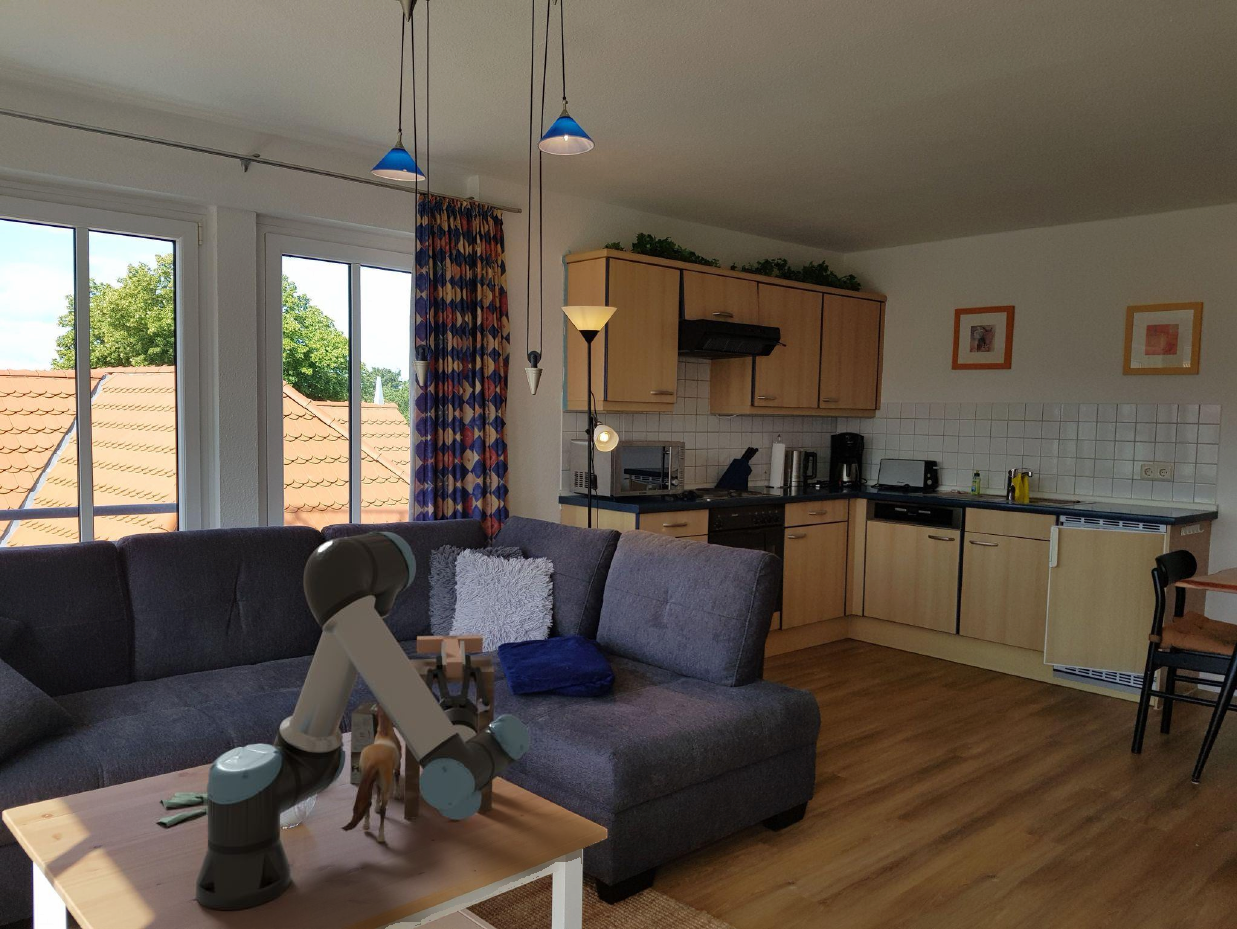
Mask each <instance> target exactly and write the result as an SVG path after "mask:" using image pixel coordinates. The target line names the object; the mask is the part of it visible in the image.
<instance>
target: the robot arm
mask: <svg viewBox="0 0 1237 929" xmlns="http://www.w3.org/2000/svg"><path fill="white" fill-rule="evenodd" d="M416 568H417V563H416V558H415V555H414V553H413V550H412V548H411V546H410V545H409V543H408V542H407V541H406V540H405V539H404V538H402V537H401V536H399V535H398V534H397V533H394V532H390V531H371V532H368V533H365V534H360V535H359V534H358V535H353V536H345V537H337V538H332V539H330V540H328V541H325V542H323V543H322V544H320V545H319V546H318V547H317V548H316V549H315V550H313V552H312V553H311V554H310V556H309V557H308V559H307V562H306V564H305V567H304V572H303V591H304V595H305V597H306V602H307V604H308V606H309V608H310V611H311V613H312V615H313V617H314V618H315V620H316V622H317V624H318V625H319V627H320V628H321V629H322V633H321V636H320V638H319V641H318V644H317V646H316V650H315V652H314V656H313V658H312V661H311V664H310V667H309V669H308V671H307V675H306V677H305V681H304V683H303V686H302V688H301V692H300V695H299V697H298V699H297V703H296V706H295V708H294V711H293V714H292V715H290V716H288V717H287V718H285V719H284V720H282V722H281V723H280V725H279V727H278V728H279V729H278V731H277V734H276V737H275V740H274V741H273V744H267V743H250V744H247V745H245V746H243V747H242V746H238V747H235V748H233V749H230V750H227V751H226V752H224V753H222V754H221V755H220V756H218V757H217V758H216V759H215V760H214V761H213V762H212V764H211V765H210V767H209V771H208V780H207V781H208V782H207V785H206V794H207V800H208V806H207V807H208V823H207V850H206V853H205V856H204V859H203V862H202V864H201V867H200V870H199V873H198V876H197V879H196V884H195V898H196V900H197V902H198V903H199V904H200V905H202V906H204V907H206V908H209V909H214V910H219V911H235V910H237V911H238V910H243V909H247V908H253V907H256V906H260V905H263V904H265V903H268V902H270V901H272V900H274V899H275V898H277V897H279V896H281V895H282V894H283V892H285V890H287V889H288V887H289V885H290V883H291V866H290V862H289V860H288V857H287V854H286V852H285V848H284V845H283V843H282V839H281V814H282V813H284V812H286V811H287V810H289V809H292V808H293V807H295V806H297V805H298V804H301V803H303V802H304V801H307V800H308V799H310V798H312V797H314V796H315V795H316V796H317V795H318V794H320V793H323V791H325V790H327V788H329V787H330V786H331V785H332V784H333V783H335V781H337V779H338V778H339V777H340V776H341V774H342V772H343V770H344V767H345V763H346V751H345V750H344V748H343V747H344V746H345V745H344V742H343V733H342V731H341V729H340V728H339V727H340V725H341V721H342V719H343V716H344V713H345V710H346V708H347V705H348V703H349V700H350V696H351V694H352V691H353V689H354V686H355V684H356V682H357V681H356V680H357V678H358V675H360V677H361V678H362V679H363V681H364V682H365V684H366V685H367V687H368V689H369V690H370V692H371V693H372V695H373V696H374V697H375V699H376V700H377V701H376V702H379V704H380V705H381V707H382V708H383V710H384V711H385V713H386V714H387V716H388V717H389V719H390V720H391V722H392V724H393V727H394V729H396V731H397V732H398V734H399V735H400V737H401V739H402V740H403V742H404V743H406V744H407V746H408V747H409V749H410V750H411V752H412V753H413V755H414V757H415V758H416V760H417V761H418V763H419V764H420V768H421V770H422V771H421V772H420V779H419V785H420V795H421V796H422V798H423V799H424V801H425V802H426V803H427V804H428V805H430V806H431V807H432V808H436V809H437V810H438V812H439V813H440V814H441V815H442V816H443V817H445V818H448V819H451V820H464V819H467V818H470V817H472V816H474V815H475V814H476V813H477V811H478V810H479V807H480V805H481V797H482V794H481V791H482V789H484V788H485V787H486V786H487V785H488V784H489V783H490V782H491V781H492V782H493V780H495V779H496V778H497V777H498V776H499V775H500V774H502V773H503V772H505V771H506V770H507V769H508V768H509V767H511V766H512V765H513V764H514V763H515V762H517V761H519V760H520V759H521V757H522V756H523V755H525V753H526V752H527V751H528V750H529V749H530V745H531V736H530V734H529V730H528V728H527V727H526V726H525V725H524V723H523V722H522V721H521V720H520V719H519V718H517V717H516V716H515V715H512V714H508V713H507V714H505V713H504V714H501V715H499V716H498V717H497V718H495V720H494V721H492V722H491V723H490V725H489V726H487V727H486V728H485V729H484V730H483V731H481V732H480V733H478V734H477V728H476V717H477V716H478V713H480V712H482V711H484V712H485V713H488V712H489V709H490V700H489V699H488V697H487V696H486V694H485V689H484V684H483V678H482V673H481V668H480V667H475V668H473V667H472V666H471V658H472V657H471V655H470V654H466V652H465V648H464V641H460V655H461V659H462V674H464V677H463V682H462V686H461V691H460V694H458V695H457V694H456V695H453V694H450V693H451V692H450V690H449V688H448V683H446V679H445V675H444V674H446V641H442V653H441V655H436V658H435V659H436V668H435V669H431V668H429V669H428V670H427V677H426V684H425V683H424V681H423V680H422V678H421V677H420V675H419V674H418V672H417V671H416V669H415V668H414V666H413V665H412V663H411V662H410V660H411V659H409V657H408V655H407V654H406V653H405V651H404V650H403V648H402V647H401V646H400V644H399V642H398V641H397V640H396V638H395V636H394V635H393V634H392V632H391V630H390V629H389V627H388V626H387V624H386V623H385V621H384V620H383V619H384V618H387V617H388V616H389V615H390V613H391V611H392V610H391V609H392V608H393V605H394V602H395V599H396V597H397V594H400V593H403V592H404V591H405V590H406V589H407V588H408V587H410V585H412V583H413V581H414V579H415V576H416V572H417V569H416ZM471 677H474V681H475V682H474V686H475V687H476V692H477V698H478V702H477V706H476V705H475V702H473V701H472V700H471V699H469V698H468V697H469V696H468V695H469V690H470V683H471V682H470V678H471ZM435 678H437V683H436V684H437V686H438V691H439V696H440V699H441V700H439V702H438V700H437V699H436V698H435V696H434V695H433V679H435Z"/></svg>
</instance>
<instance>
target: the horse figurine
mask: <svg viewBox="0 0 1237 929" xmlns="http://www.w3.org/2000/svg"><path fill="white" fill-rule="evenodd" d="M376 702H377V703H376V707H377V709H378V711H377V713H376V714H375V716H376V718H377V721H378V729H377V731H378V733H377V735H376V737H375V740H374V744H372V745H369V746H367V747H366V748H364V749H363V751H362V753H361V757H360V771H361V775H362V780H361V782H360V783H359V786H358V788H357V793H356V795H355V801H354V805H353V808H352V816H351V820H350V821H349V822H348V823H347V824H346V825H344V826H343V827H340V830H343V831H345V832H348V831H352V830H354V829H355V828H356V827H357V826H359V823H360V822H361V821H362V820H363V819H364V822H363V824H362V830H364V831H369V830H370V829H371V826H370V824H371V823H370V821H369V820H370V817H371V814H370V812H371V807H372V806H373V801H372V800H373V792H374V785H375V788H376V798H375V802H374V803H375V806H374V809H373V811H374V812H375V813H379V817H380V819H379V820H380V821H379V822H380V823H379V826H378V827H379V828H378V835H377V837H376V841H377V842H382V843H383V842H384V841H385V839H386V837H385V828H384V827H385V818H386V814H387V805H388V803H389V799H390V794H391V789H392V788H391V787H392V785H393V781H394V780H395V781H394V791H393V793H392V799H397V800H398V799H400V797H401V796H400V776H401V765H402V763H401V760H402V757H403V753H402V752H403V751H402V749H403V747H402V744H401V741H400V738H398V737H399V736H397V734H396V732H395V728H394V725H393V723H392V722H391V720H390V719H389V717H388V716H387V714H386V713H385V711H384V710H383V708H382V707H381V705H379V702H378V701H376ZM375 781H376V784H374V783H375Z"/></svg>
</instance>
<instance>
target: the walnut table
mask: <svg viewBox="0 0 1237 929" xmlns="http://www.w3.org/2000/svg"><path fill="white" fill-rule="evenodd" d="M409 660H410V662H411V663H412V665H413V666H414V668H415V669H416V671H417V672H418V674H419V675H420V677H421V678H422V680H423V681H424V683H425V684H426V677H427V670H428V669H429V668H431V669H435V668H436V658H423V659H422V658H420V659H419V658H418V659H409ZM471 666H472V667H473V668H475V667H480V668H481V673H482V678H483V684H484V689H485V694H486V696H487V697H488V699H489V700H490V709H489V712H488V713H485V712H484V711H482V712H480V713H478V716H477V717H476V728H477V734H478V733H480V732H481V731H483V730H484V729H485V728H486V727H487V726H489V725H490V723H491V722H492V721H495V720H494V718H495V717H494V714H495V711H494V710H495V708H494V707H495V670H494V669H495V668H494V666H493V663H492V660H491V657H490V656H477V657H471ZM444 675H445V679H446V683H447V684H452V683H453V684H454V683H455V684H457V683H463V677H464V674H462V677H448V678H446V674H444ZM470 683H475V681H474V677H471V678H470ZM433 684H438V683H437V678H435V679H433ZM474 689H475V690H474V691H475V694H474V695H475V696H474V697H475V698H474V704H475V705H476V706H477V702H478V698H477V692H476V687H475V688H474ZM404 743H405V742H404ZM404 745H405V746H404V748H405V749H404V750H405V751H404V754H405V755H404V806H403V807H404V808H403V809H404V810H403V811H404V812H403V818H404V819H413V818H412V817H418V818H420V793H421V789H420V785H419V779H420V775H421V772H420V771H421V766H420V764H419V763H418V761H417V760H416V758H415V757H414V755H413V753H412V752H411V750H410V749H409V747H408V746H407V744H406V743H405V744H404ZM481 794H482V797H481V805H480V807H479V810H478V811H477V812H476V813H477V814H482V813H492V811H493V780H492V781H491V782H490V783H489V784H488V785H487V786H486V787H485V788H484V789H482V791H481Z"/></svg>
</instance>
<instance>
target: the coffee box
mask: <svg viewBox="0 0 1237 929" xmlns="http://www.w3.org/2000/svg"><path fill="white" fill-rule="evenodd" d="M377 702H378V701H371V702H368V701H366V702H365V701H362V702H361V703H360V704H359V705H358V706H357V707H356V708H355V709H354V710H353V711H352V712H351V723H350V724H351V726H350V727H351V729H350V731H351V732H350V772H349V773H350V774H349V776H350V777H349V782H350V784H360V782H361V780H362V775H361V771H360V757H361V753H362V751H363V749H364V748H366V747H367V746H369V745H372V744H374V740H375V737H376V735H377V733H378V731H377V729H378V721H377V718H376V716H375V714H376V713H377V711H378V709H377V707H376V703H377ZM379 705H380V704H379ZM374 785H376V781H375V783H374Z"/></svg>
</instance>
